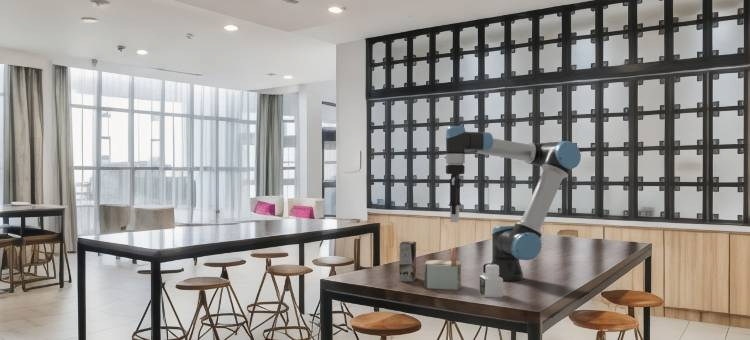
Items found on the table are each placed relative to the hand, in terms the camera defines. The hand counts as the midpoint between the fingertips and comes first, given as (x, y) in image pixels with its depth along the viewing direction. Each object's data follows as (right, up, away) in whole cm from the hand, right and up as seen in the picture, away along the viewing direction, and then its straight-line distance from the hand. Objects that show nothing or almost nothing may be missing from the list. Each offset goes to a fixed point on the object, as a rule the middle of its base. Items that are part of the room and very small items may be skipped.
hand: (454, 221), depth 230 cm
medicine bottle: (+12, -27, -15) cm, 33 cm away
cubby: (-5, -27, +1) cm, 27 cm away
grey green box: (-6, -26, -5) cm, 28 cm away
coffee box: (-18, -27, +15) cm, 36 cm away
